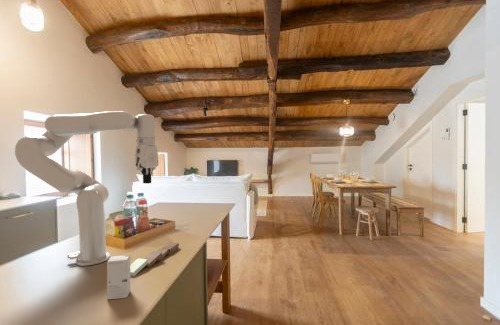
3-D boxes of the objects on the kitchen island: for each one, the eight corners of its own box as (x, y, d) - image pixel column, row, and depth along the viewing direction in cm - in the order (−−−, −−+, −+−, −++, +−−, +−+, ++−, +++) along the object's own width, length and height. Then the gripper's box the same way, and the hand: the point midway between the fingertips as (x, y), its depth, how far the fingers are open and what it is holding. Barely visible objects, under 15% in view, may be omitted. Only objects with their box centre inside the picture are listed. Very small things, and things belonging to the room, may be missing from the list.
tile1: (148, 264, 102) (161, 252, 109) (139, 262, 104) (152, 250, 111) (148, 268, 102) (162, 255, 110) (140, 266, 104) (153, 254, 111)
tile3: (170, 249, 116) (178, 242, 124) (160, 248, 117) (169, 242, 125) (170, 252, 116) (178, 246, 124) (161, 252, 117) (169, 245, 125)
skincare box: (106, 300, 80) (105, 261, 80) (111, 292, 84) (110, 256, 84) (128, 297, 81) (127, 259, 81) (131, 290, 86) (130, 254, 85)
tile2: (158, 258, 108) (168, 249, 116) (149, 257, 109) (159, 248, 117) (159, 261, 108) (168, 252, 116) (149, 261, 109) (159, 251, 117)
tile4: (169, 253, 115) (178, 246, 123) (160, 252, 117) (169, 246, 124) (169, 256, 116) (178, 250, 123) (160, 255, 117) (169, 249, 124)
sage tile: (133, 272, 95) (147, 259, 103) (123, 270, 97) (138, 258, 104) (133, 276, 96) (148, 263, 103) (124, 274, 97) (138, 261, 104)
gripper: (140, 141, 107) (141, 185, 108) (164, 142, 121) (164, 181, 122) (126, 141, 110) (127, 184, 111) (151, 143, 124) (151, 181, 125)
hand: (147, 183), depth 116 cm, fingers closed
